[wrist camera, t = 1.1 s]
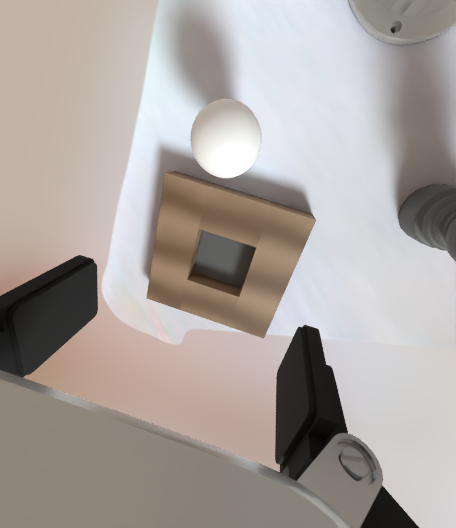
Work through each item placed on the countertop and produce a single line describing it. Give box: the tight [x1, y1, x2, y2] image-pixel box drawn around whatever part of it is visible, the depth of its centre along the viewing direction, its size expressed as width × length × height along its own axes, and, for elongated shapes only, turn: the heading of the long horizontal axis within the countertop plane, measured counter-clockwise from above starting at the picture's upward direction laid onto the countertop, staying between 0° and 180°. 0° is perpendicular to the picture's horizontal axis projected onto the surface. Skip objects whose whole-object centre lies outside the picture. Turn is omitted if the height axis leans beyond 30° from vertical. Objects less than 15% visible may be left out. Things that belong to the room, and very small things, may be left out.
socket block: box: [147, 171, 316, 338], centre depth 33 cm, size 18×18×3 cm
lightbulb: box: [191, 99, 262, 178], centre depth 24 cm, size 6×6×11 cm
